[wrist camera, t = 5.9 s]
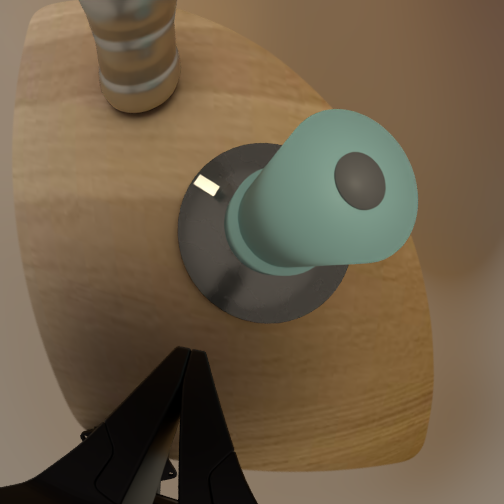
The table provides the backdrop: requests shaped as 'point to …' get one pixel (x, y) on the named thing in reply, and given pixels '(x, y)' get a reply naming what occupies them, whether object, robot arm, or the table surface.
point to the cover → (325, 199)
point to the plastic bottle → (135, 51)
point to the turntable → (223, 259)
